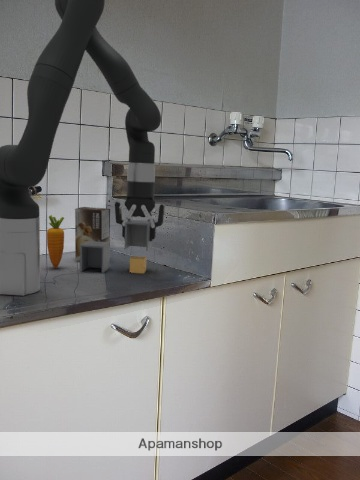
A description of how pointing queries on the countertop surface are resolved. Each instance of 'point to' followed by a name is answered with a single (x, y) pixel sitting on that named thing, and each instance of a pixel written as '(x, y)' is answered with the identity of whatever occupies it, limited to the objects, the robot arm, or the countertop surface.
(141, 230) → the cube hood
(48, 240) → the carrot
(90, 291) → the countertop surface
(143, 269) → the cube
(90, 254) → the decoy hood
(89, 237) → the coffee box
